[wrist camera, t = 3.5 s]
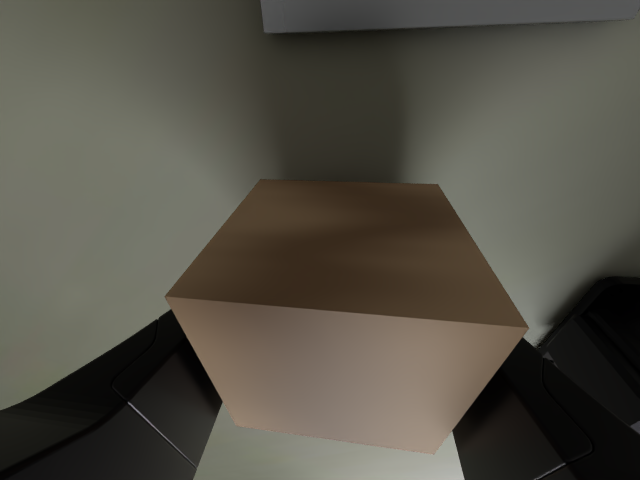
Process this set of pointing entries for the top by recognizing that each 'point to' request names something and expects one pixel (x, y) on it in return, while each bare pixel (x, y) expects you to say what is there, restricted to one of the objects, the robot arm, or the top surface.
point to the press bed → (433, 13)
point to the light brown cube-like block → (347, 313)
